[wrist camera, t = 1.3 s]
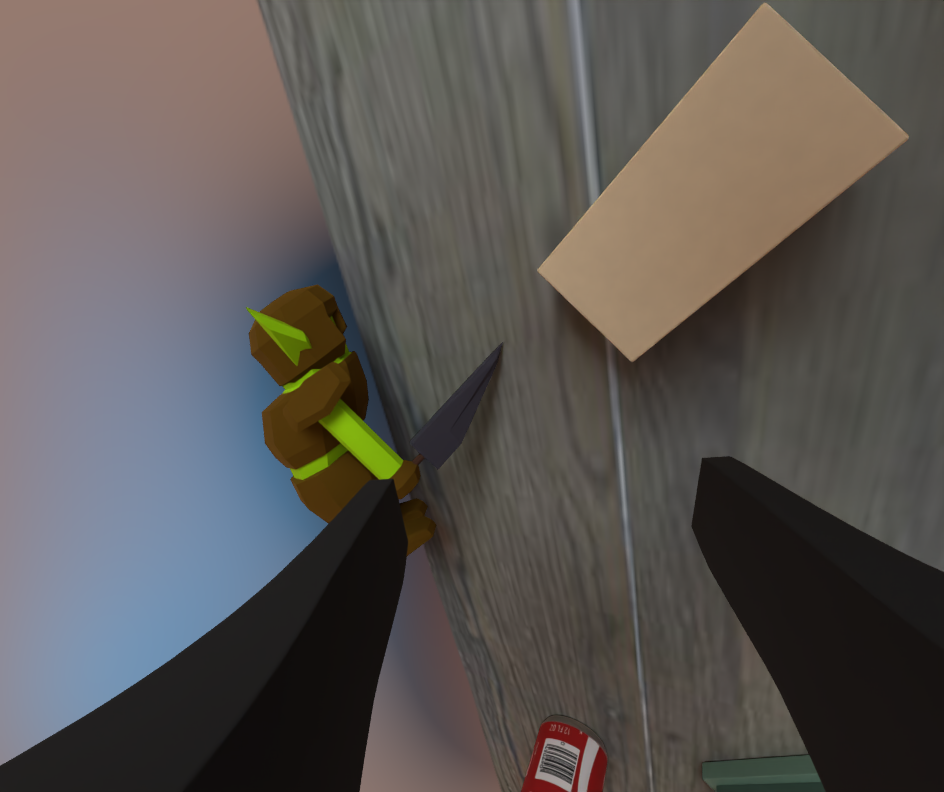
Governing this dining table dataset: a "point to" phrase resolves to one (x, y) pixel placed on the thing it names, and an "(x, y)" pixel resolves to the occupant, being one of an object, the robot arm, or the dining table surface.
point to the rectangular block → (719, 184)
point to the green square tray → (763, 775)
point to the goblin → (344, 411)
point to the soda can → (566, 758)
